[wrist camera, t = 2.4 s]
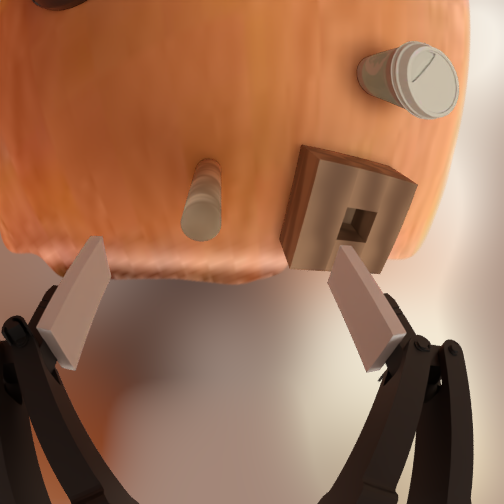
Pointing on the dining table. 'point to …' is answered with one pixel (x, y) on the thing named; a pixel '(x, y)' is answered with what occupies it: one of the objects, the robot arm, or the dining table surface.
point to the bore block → (343, 210)
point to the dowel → (203, 203)
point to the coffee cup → (412, 79)
